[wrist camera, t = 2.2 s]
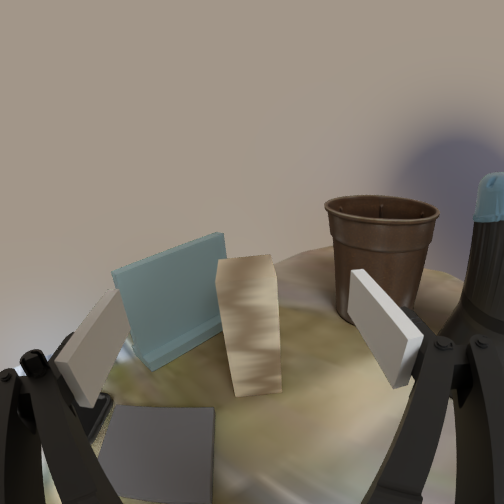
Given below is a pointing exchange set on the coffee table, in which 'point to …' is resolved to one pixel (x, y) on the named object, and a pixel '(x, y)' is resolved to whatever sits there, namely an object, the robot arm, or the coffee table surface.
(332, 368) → the coffee table surface
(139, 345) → the standing board
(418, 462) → the robot arm
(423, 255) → the plant pot
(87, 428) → the phone
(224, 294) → the tall tan block
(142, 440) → the charcoal mat
